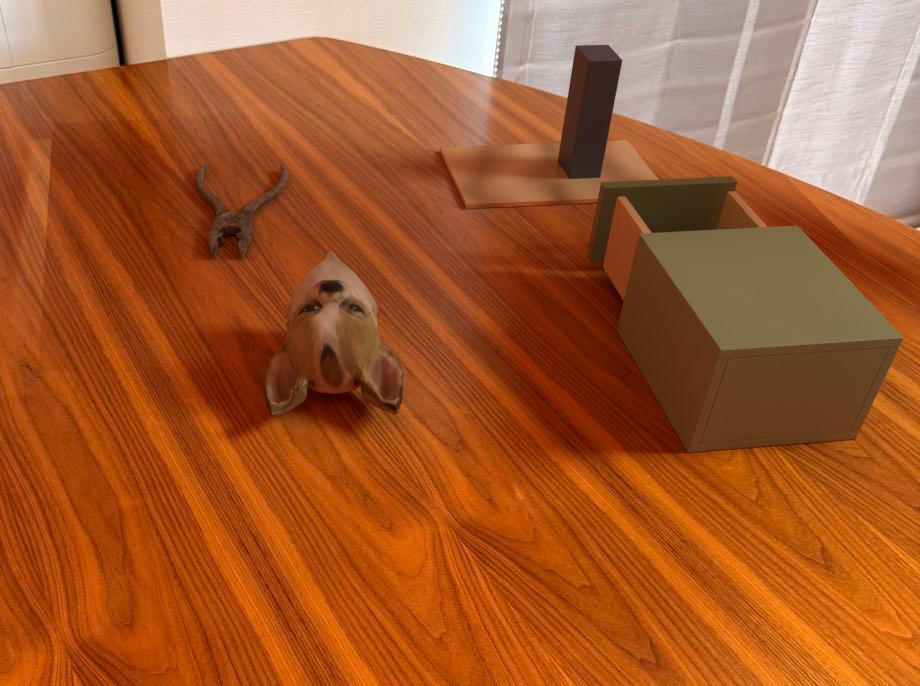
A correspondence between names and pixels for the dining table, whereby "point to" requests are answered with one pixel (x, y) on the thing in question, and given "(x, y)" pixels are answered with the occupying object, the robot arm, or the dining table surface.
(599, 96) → the block
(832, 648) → the dining table surface
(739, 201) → the drawer
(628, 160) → the mat
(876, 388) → the cabinet
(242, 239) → the pliers
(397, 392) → the ceramic sculpture
